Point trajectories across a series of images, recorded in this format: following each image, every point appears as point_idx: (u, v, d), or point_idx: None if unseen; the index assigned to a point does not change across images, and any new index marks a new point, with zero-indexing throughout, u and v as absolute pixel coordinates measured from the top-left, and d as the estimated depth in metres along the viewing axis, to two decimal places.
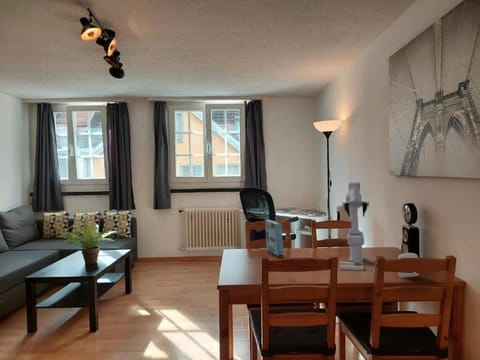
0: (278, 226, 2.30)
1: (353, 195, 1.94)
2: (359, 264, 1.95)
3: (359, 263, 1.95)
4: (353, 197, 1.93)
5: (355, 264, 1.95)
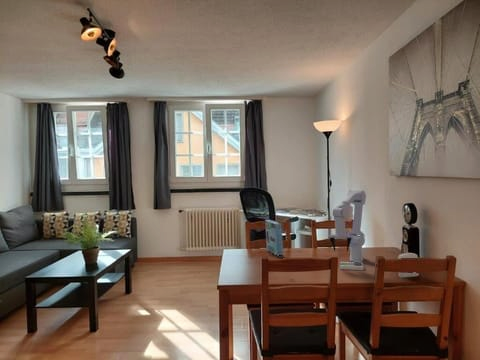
0: (278, 226, 2.30)
1: (338, 229, 1.97)
2: (359, 264, 1.95)
3: (359, 263, 1.95)
4: (338, 232, 1.97)
5: (355, 264, 1.95)
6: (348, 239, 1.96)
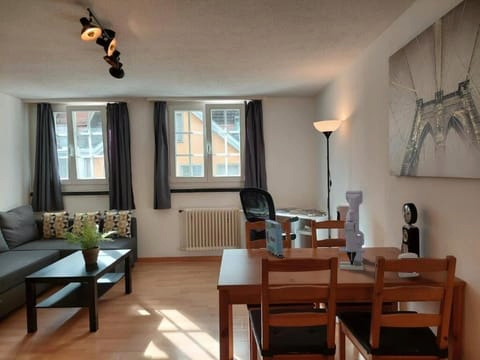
0: (278, 226, 2.30)
1: (349, 243, 1.95)
2: (359, 264, 1.95)
3: (359, 263, 1.95)
4: (349, 246, 1.95)
5: (355, 264, 1.95)
6: (353, 253, 1.96)
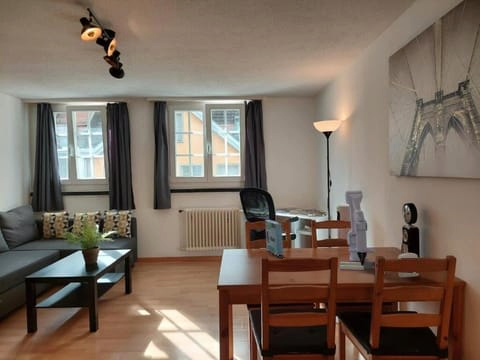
0: (278, 226, 2.30)
1: (360, 244, 1.94)
2: (370, 264, 1.93)
3: (370, 263, 1.93)
4: (360, 246, 1.94)
5: (366, 264, 1.94)
6: (363, 253, 1.94)
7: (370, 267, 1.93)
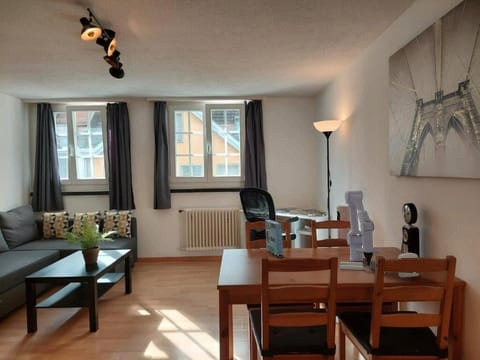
0: (278, 226, 2.30)
1: (366, 244, 1.93)
2: None
3: None
4: (366, 246, 1.93)
5: (372, 264, 1.93)
6: (370, 253, 1.93)
7: None
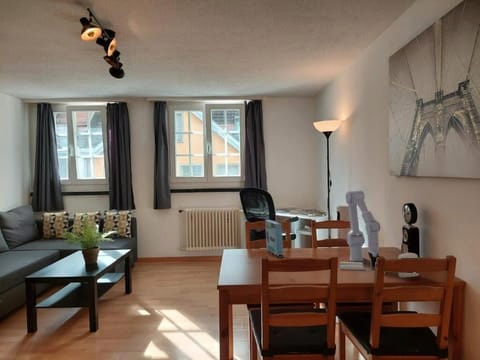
0: (278, 226, 2.30)
1: None
2: None
3: None
4: None
5: None
6: (370, 255, 1.92)
7: None
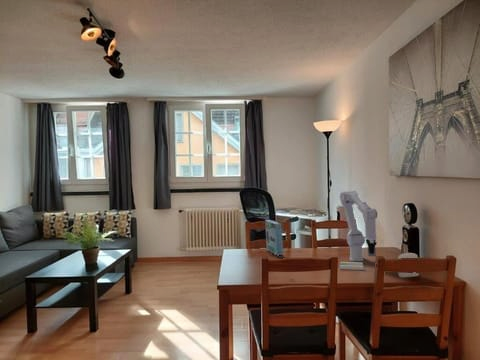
0: (278, 226, 2.30)
1: None
2: None
3: None
4: None
5: None
6: (368, 241, 1.95)
7: (373, 254, 1.95)
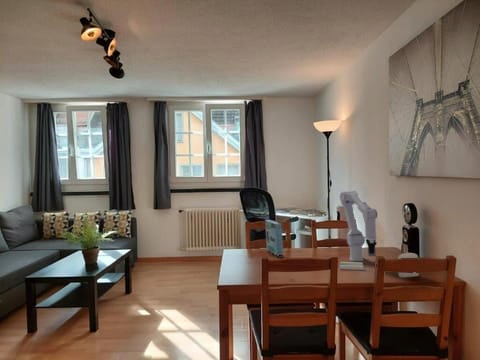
0: (278, 226, 2.30)
1: None
2: None
3: None
4: None
5: None
6: (368, 241, 1.95)
7: (373, 254, 1.95)
